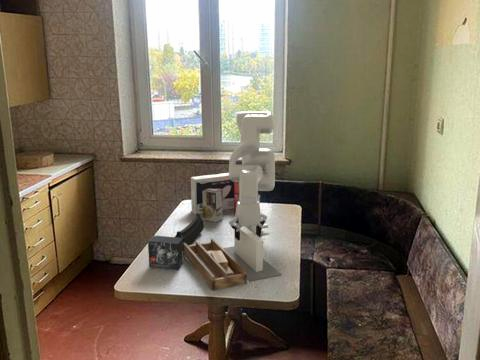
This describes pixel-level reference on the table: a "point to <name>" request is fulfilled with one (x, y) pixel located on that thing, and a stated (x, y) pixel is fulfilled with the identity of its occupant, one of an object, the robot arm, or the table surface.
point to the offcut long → (224, 268)
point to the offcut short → (220, 258)
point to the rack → (214, 265)
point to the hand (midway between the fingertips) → (248, 237)
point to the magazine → (191, 230)
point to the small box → (165, 252)
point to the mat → (251, 273)
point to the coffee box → (212, 205)
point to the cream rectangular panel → (249, 248)
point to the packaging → (211, 182)
